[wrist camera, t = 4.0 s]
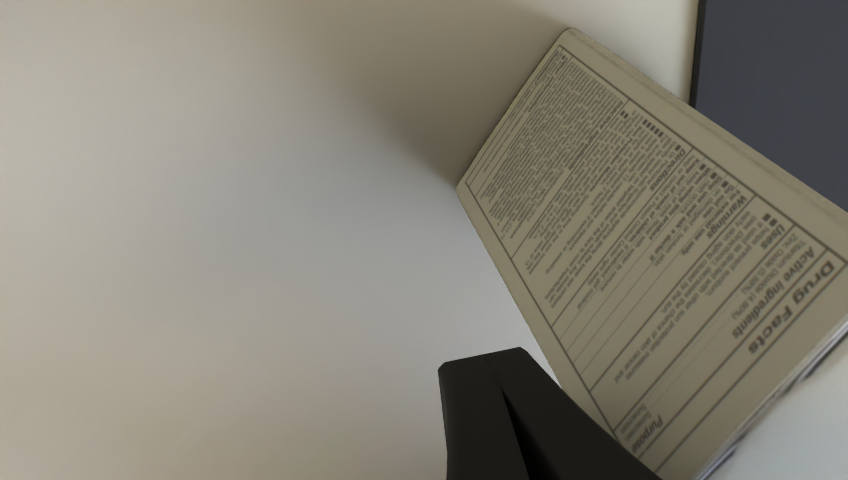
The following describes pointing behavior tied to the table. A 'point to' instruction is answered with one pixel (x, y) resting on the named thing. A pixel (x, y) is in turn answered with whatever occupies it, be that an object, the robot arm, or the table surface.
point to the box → (668, 273)
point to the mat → (779, 83)
